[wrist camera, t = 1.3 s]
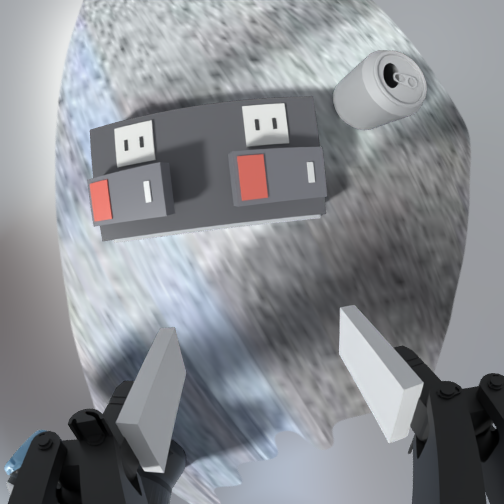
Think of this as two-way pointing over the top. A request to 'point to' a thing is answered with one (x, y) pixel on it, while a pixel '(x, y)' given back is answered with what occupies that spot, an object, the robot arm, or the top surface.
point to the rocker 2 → (277, 175)
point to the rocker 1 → (132, 194)
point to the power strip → (206, 161)
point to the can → (380, 90)
